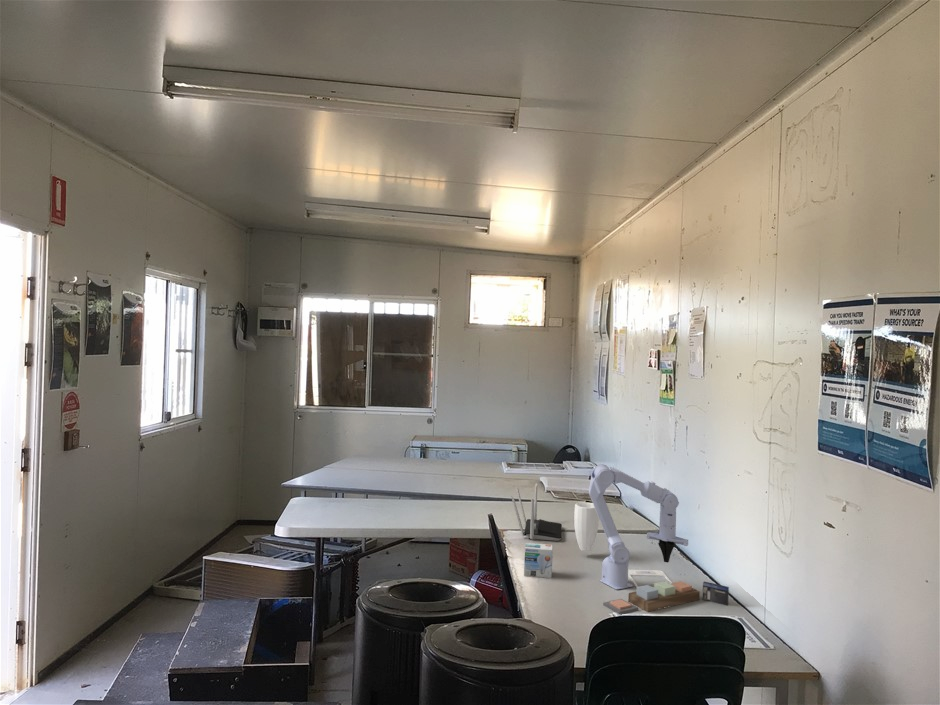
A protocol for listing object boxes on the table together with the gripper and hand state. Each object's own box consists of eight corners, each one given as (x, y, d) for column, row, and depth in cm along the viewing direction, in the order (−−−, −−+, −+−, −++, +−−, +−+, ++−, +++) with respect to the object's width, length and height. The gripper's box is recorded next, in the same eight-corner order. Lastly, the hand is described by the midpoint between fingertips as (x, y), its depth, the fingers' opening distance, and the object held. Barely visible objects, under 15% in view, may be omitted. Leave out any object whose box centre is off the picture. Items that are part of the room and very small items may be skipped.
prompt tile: (603, 604, 207) (603, 600, 207) (621, 601, 211) (621, 596, 211) (619, 614, 200) (619, 610, 200) (637, 610, 204) (637, 605, 204)
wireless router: (561, 546, 269) (562, 500, 269) (508, 542, 272) (510, 497, 272) (561, 525, 302) (562, 484, 302) (515, 521, 306) (516, 481, 306)
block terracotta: (670, 594, 217) (670, 583, 217) (680, 592, 219) (680, 581, 219) (681, 599, 212) (681, 588, 212) (691, 597, 215) (691, 586, 215)
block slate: (636, 598, 209) (636, 587, 209) (647, 596, 211) (647, 584, 211) (646, 604, 205) (647, 592, 205) (657, 601, 207) (658, 590, 207)
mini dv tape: (702, 599, 214) (702, 582, 214) (703, 598, 215) (703, 581, 215) (727, 605, 209) (727, 588, 209) (728, 604, 211) (728, 586, 211)
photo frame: (661, 570, 241) (677, 587, 223) (661, 572, 241) (677, 590, 223) (624, 568, 241) (637, 586, 223) (624, 571, 241) (637, 589, 223)
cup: (598, 561, 250) (599, 509, 250) (572, 559, 252) (573, 507, 252) (597, 553, 260) (599, 503, 260) (573, 551, 262) (574, 501, 262)
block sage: (653, 595, 213) (654, 583, 213) (664, 592, 215) (664, 581, 215) (664, 600, 208) (664, 588, 208) (675, 597, 211) (675, 586, 211)
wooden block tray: (628, 601, 210) (628, 593, 210) (679, 590, 222) (679, 582, 222) (647, 612, 202) (647, 602, 202) (699, 599, 214) (699, 591, 214)
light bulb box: (523, 576, 232) (524, 547, 232) (524, 570, 238) (525, 542, 238) (552, 578, 230) (552, 549, 230) (552, 572, 237) (552, 544, 237)
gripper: (644, 523, 225) (643, 560, 225) (685, 530, 217) (684, 568, 217) (650, 519, 231) (649, 555, 231) (690, 526, 223) (689, 563, 223)
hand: (666, 561), depth 224 cm, fingers closed
